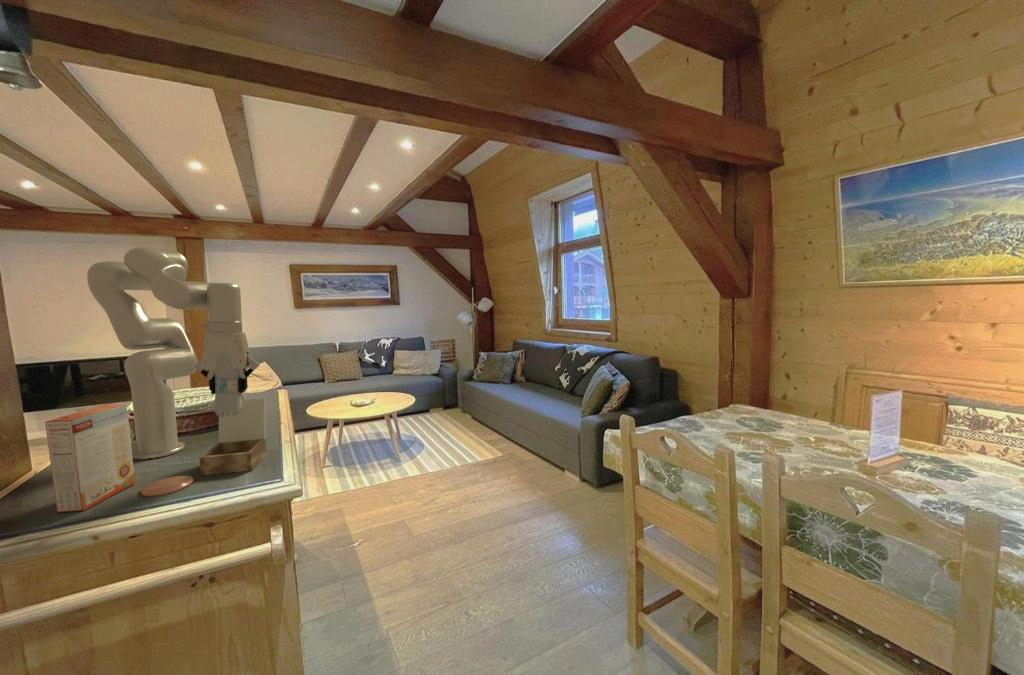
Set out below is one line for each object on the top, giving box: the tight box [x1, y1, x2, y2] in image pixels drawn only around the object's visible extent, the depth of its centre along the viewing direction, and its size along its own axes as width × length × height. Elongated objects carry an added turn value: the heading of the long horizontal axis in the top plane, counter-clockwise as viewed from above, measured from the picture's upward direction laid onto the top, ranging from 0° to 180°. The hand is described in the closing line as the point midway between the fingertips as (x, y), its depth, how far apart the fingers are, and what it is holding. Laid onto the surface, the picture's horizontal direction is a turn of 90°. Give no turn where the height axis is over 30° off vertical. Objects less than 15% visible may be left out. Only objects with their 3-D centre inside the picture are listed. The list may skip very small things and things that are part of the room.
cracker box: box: [44, 403, 136, 513], centre depth 95 cm, size 14×6×21 cm, turn 5°
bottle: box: [214, 357, 243, 417], centre depth 112 cm, size 7×7×20 cm
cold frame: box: [199, 439, 267, 476], centre depth 114 cm, size 12×12×5 cm
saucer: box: [140, 475, 194, 497], centre depth 101 cm, size 10×10×1 cm
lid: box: [218, 398, 267, 443], centre depth 121 cm, size 12×4×17 cm, turn 105°
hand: (229, 391), depth 113 cm, fingers closed on bottle, 6 cm apart
